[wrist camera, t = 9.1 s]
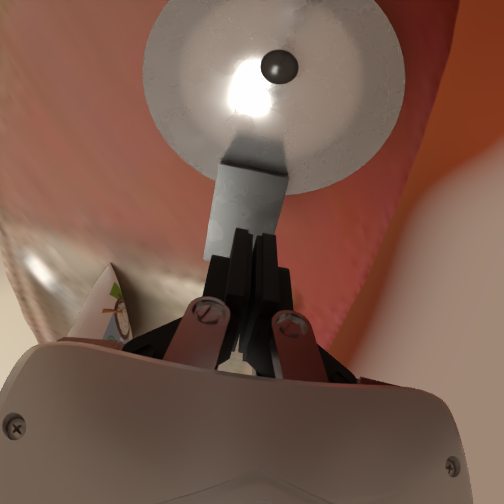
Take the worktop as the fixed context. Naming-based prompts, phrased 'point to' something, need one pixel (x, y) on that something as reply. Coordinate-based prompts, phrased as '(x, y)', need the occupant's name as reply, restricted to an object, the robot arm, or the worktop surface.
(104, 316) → the pouch
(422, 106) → the worktop surface
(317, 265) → the worktop surface
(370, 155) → the cooker lid
